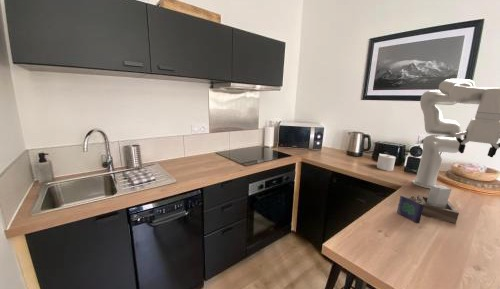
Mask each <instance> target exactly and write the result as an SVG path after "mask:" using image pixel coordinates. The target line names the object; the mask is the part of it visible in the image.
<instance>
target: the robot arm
mask: <svg viewBox="0 0 500 289" xmlns="http://www.w3.org/2000/svg"><path fill="white" fill-rule="evenodd" d="M419 103H420V109H421V111H422V113H423V120H424V122H423V123H424V130H425V132H426V133H427V134H429V135H427V136H425V137H424V139H423V141H422V152H421V157H420V162H419V166H418V169H417V173H416V177H415V179H412V180H411V182H412V184H414V185H416V186H418V187H421V188H424V189H429V190H430V188H431V185H437V183H436V182H437V179H438V176H439V171H440V168H441V165H442V160H443V158H442V156H441V155H440V153H442V152H443V153H448V154H449V153H451V154H456V153H460V154H464V152H465V148H466V144H468V143H469V142H471V143H481V144H487V145H488V144H490V145H491V147H489V149H488V153H487V156H488V157H490V158H493V157H494V156H495V155H496V153H497V150H499V149H500V142H498V141H499V139H500V87H480V86H479V87H477V86H476V85H475V82H474V81H473V80H472V79H467V78H466V79H463V78H460V79H459V78H450V79H449V78H448V79H445V80H443V81H441V82H440V83H439V85H438V90H437V89H435V90H427V91H425V92H424V93H422V95H421V97H420V102H419ZM456 104H464V105H465V104H467V105H477V106H478V107H477V110H476V113H475V116H474V118H471V119H470V121H469V123H468V125H467V127H466V129H465V131H462V130H461V126H460V123H458V121H456V120H453V119H444V118H443V113H442V111H441V109H440V108H439V107H438V106H439V105H441V106H454V105H456ZM436 105H438V106H436ZM462 136H463V139H462Z"/></svg>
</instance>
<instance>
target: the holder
mask: <svg viewBox="0 0 500 289" xmlns="http://www.w3.org/2000/svg"><path fill="white" fill-rule="evenodd" d="M427 199H428V196H424V195H421V194H417V197H416V200H418V201H421V202H422V203H423V204H424V207H423V211H422V215H421V216H424V217H428V218H432V219H434V220H438V221H439V220H440V221H444V222H448V223H453V224H457V221H458V218H459V215H460V213H459V210H457V209H456V208H455V207H454V206H453V204H452V203H451V202H450V201H449V200H448V201H447V205H446V208H445V209H444V208H440V207H435V206H431V205H427V204H426V202H427Z"/></svg>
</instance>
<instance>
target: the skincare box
mask: <svg viewBox="0 0 500 289" xmlns="http://www.w3.org/2000/svg"><path fill="white" fill-rule="evenodd" d="M451 191H452V188H450V187H447V186H444V185H442V184H441V185H437V184H436V185H431V188H430V189H429V193H428V196H427V197H428V199H427V202H426V204H427V205H431V206H435V207H440V208H444V209H445V208H446V205H447V201H449V197H450V195H451Z"/></svg>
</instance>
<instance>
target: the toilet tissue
mask: <svg viewBox="0 0 500 289" xmlns="http://www.w3.org/2000/svg"><path fill="white" fill-rule="evenodd" d="M378 154H379V155H378V159H377V163H376V168H377V169H379V170H381V171H388V172H391V171H394V168H395V162H396V159H397V157H396V156H394V155H391V154H386V153H385V154H384V153H378Z"/></svg>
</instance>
